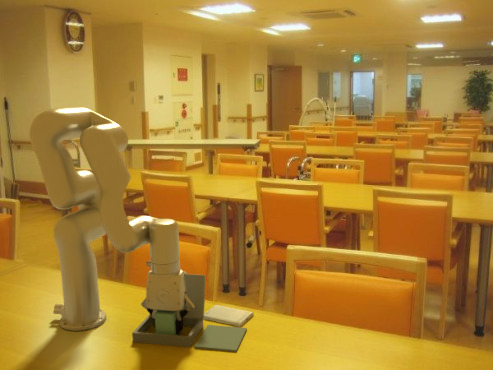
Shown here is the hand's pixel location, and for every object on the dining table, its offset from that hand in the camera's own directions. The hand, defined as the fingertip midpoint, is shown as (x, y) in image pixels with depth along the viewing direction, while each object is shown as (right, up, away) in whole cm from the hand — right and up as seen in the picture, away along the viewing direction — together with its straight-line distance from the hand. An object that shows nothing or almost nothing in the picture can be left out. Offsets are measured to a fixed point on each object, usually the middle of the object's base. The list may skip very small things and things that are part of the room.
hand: (169, 330), depth 136 cm
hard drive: (+15, 0, +10) cm, 18 cm away
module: (0, -1, 0) cm, 1 cm away
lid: (+1, +9, +5) cm, 10 cm away
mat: (+14, -1, -3) cm, 15 cm away
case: (0, -1, 0) cm, 1 cm away
